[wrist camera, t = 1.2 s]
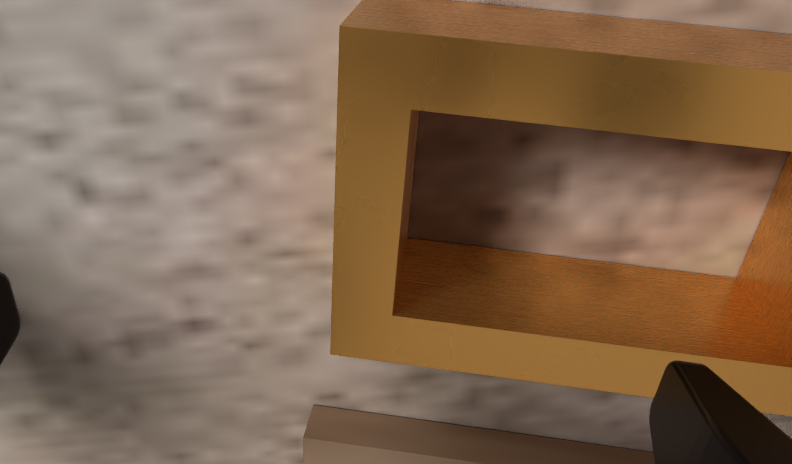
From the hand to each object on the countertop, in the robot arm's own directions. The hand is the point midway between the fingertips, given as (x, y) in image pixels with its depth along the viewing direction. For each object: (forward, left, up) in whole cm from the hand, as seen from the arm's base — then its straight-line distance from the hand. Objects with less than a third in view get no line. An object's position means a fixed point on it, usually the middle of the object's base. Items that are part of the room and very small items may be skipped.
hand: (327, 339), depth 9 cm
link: (0, -4, -6) cm, 8 cm away
